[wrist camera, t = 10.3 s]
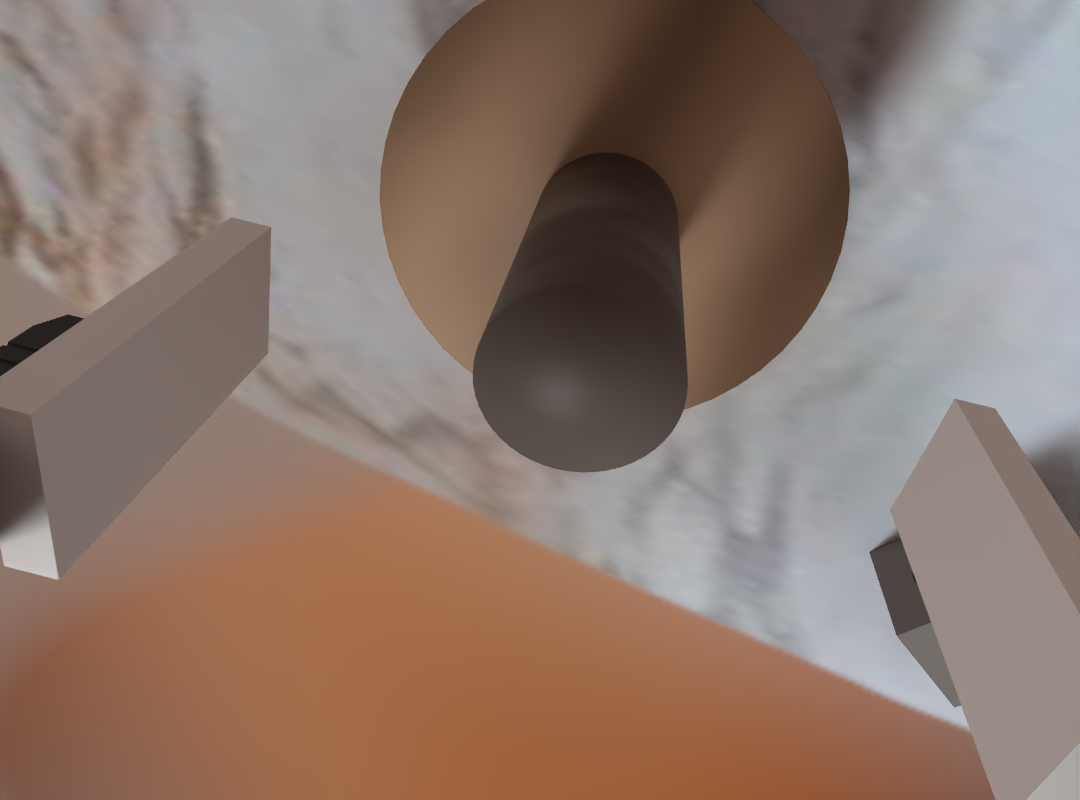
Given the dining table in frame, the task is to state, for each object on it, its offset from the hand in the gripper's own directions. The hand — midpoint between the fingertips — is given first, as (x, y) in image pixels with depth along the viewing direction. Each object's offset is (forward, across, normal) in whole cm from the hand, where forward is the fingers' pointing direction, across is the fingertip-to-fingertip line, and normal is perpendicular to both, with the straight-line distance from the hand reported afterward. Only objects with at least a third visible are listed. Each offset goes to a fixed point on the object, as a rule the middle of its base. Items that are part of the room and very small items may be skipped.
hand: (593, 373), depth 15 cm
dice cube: (+16, -18, +14) cm, 28 cm away
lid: (+10, 0, 0) cm, 10 cm away
